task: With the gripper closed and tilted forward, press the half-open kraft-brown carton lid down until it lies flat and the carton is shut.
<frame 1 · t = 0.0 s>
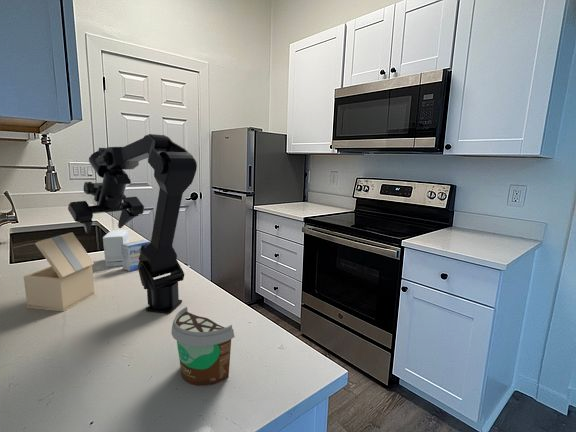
hand: (103, 229, 97), 15 cm above the counter, tool tilted 35°, fingers open, 9 cm apart
carton lid: (66, 254, 80), point 13 cm above the counter, hinge at 55.0°
skincare box: (118, 262, 114), on the counter
medicine box: (137, 268, 109), on the counter
carton: (62, 300, 83), on the counter
food container: (196, 377, 56), on the counter
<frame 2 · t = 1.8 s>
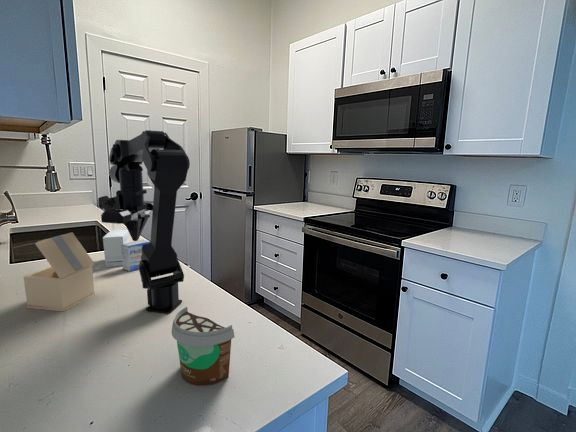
hand: (135, 240, 93), 13 cm above the counter, tool pointing down, fingers closed
nothing on the counter moved.
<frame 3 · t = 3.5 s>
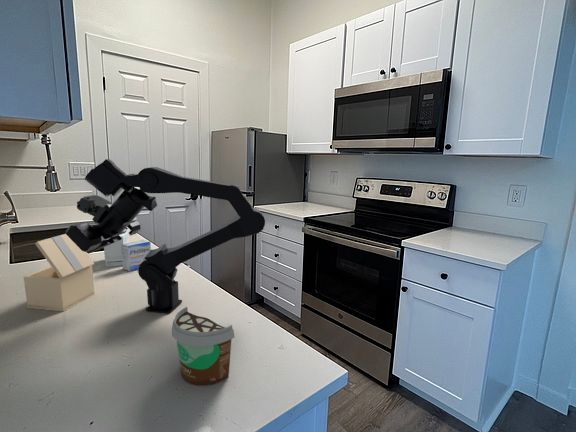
hand: (87, 252, 79), 14 cm above the counter, tool tilted 45°, fingers closed
nothing on the counter moved.
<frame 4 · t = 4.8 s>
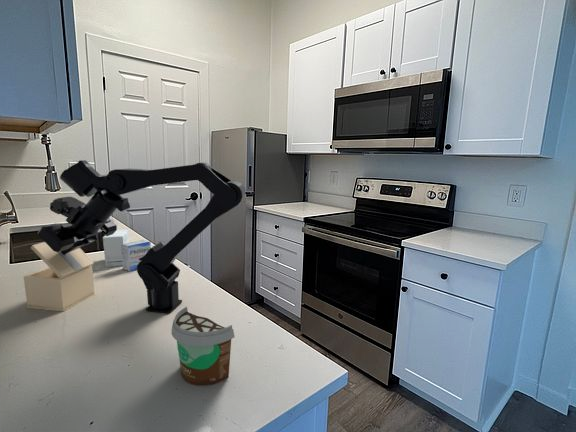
hand: (63, 252, 80), 13 cm above the counter, tool tilted 45°, fingers closed, pressing on carton lid
carton lid: (64, 255, 81), point 12 cm above the counter, hinge at 45.1°, touching gripper
everything else where it was.
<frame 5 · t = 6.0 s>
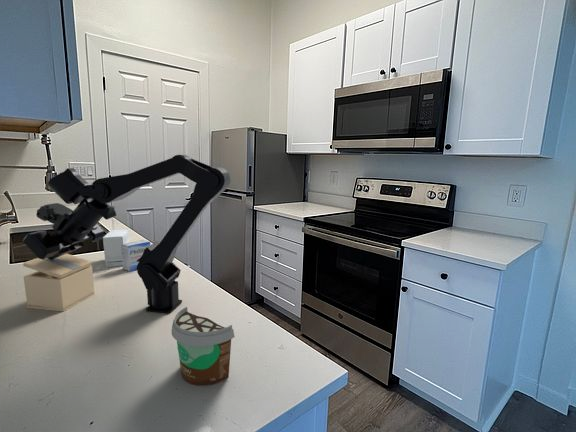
hand: (49, 258, 81), 11 cm above the counter, tool tilted 45°, fingers closed, pressing on carton lid
carton lid: (59, 263, 81), point 10 cm above the counter, hinge at 13.7°, touching gripper
everything else where it was.
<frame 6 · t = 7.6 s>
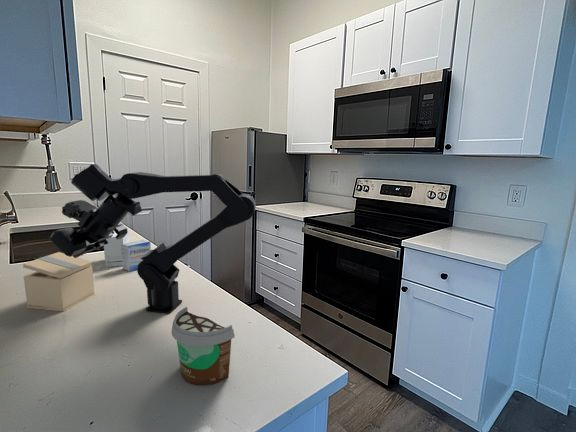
hand: (74, 256, 80), 12 cm above the counter, tool tilted 45°, fingers closed
carton lid: (59, 264, 81), point 10 cm above the counter, hinge at 11.8°
everything else where it was.
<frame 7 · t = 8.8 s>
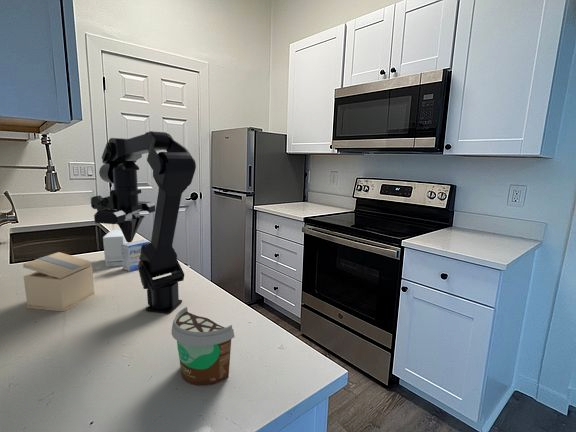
hand: (129, 242, 90), 13 cm above the counter, tool pointing down, fingers closed
nothing on the counter moved.
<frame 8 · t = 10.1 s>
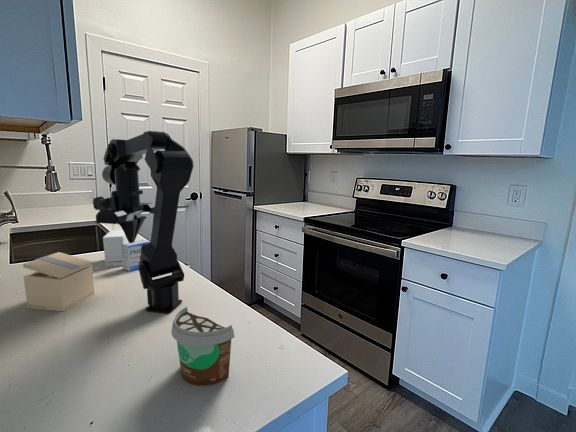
hand: (131, 242, 91), 13 cm above the counter, tool pointing down, fingers closed
nothing on the counter moved.
at the end: carton lid at +12° (first picture: +55°) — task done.
